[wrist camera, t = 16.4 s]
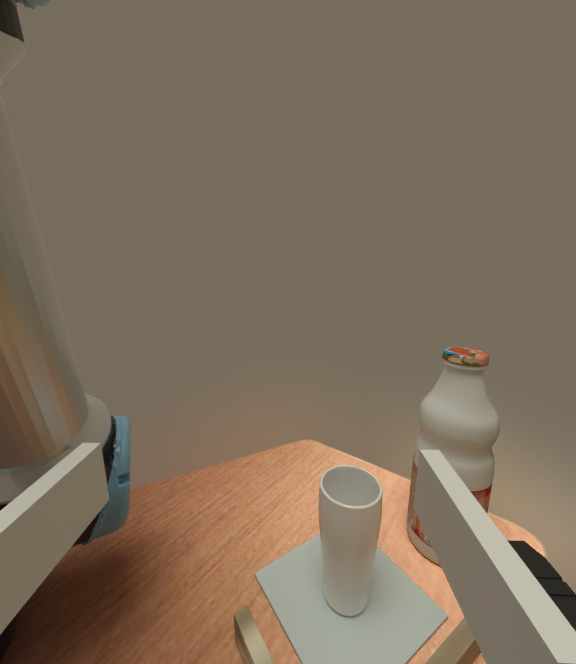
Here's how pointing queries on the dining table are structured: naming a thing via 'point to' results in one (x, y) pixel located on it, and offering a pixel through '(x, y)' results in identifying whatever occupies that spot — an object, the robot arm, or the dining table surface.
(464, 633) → the birch walls
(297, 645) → the pad
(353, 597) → the drinking glass
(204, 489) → the dining table surface
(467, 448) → the fruit juice
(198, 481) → the dining table surface
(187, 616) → the dining table surface
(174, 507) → the dining table surface
